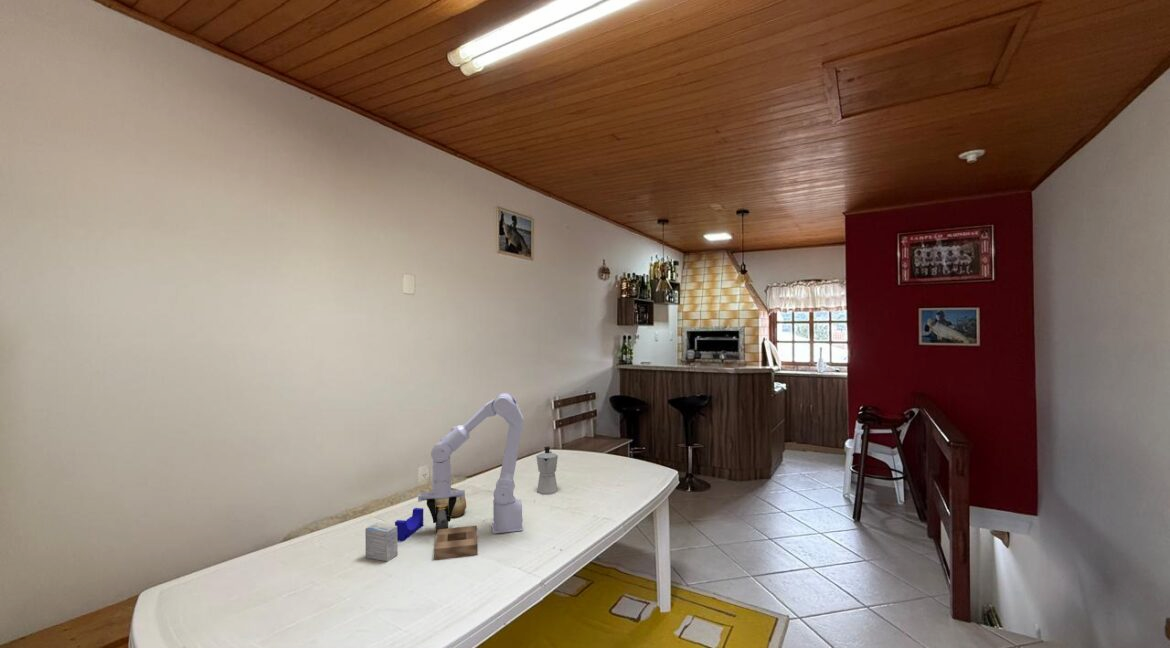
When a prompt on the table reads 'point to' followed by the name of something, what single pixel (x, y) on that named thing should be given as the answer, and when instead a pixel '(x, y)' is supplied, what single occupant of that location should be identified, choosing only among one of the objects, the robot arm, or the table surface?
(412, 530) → the blue cradle block
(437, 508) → the peg
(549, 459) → the coffee maker
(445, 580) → the table surface
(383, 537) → the medicine box
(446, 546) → the dock plate
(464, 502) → the bread roll
